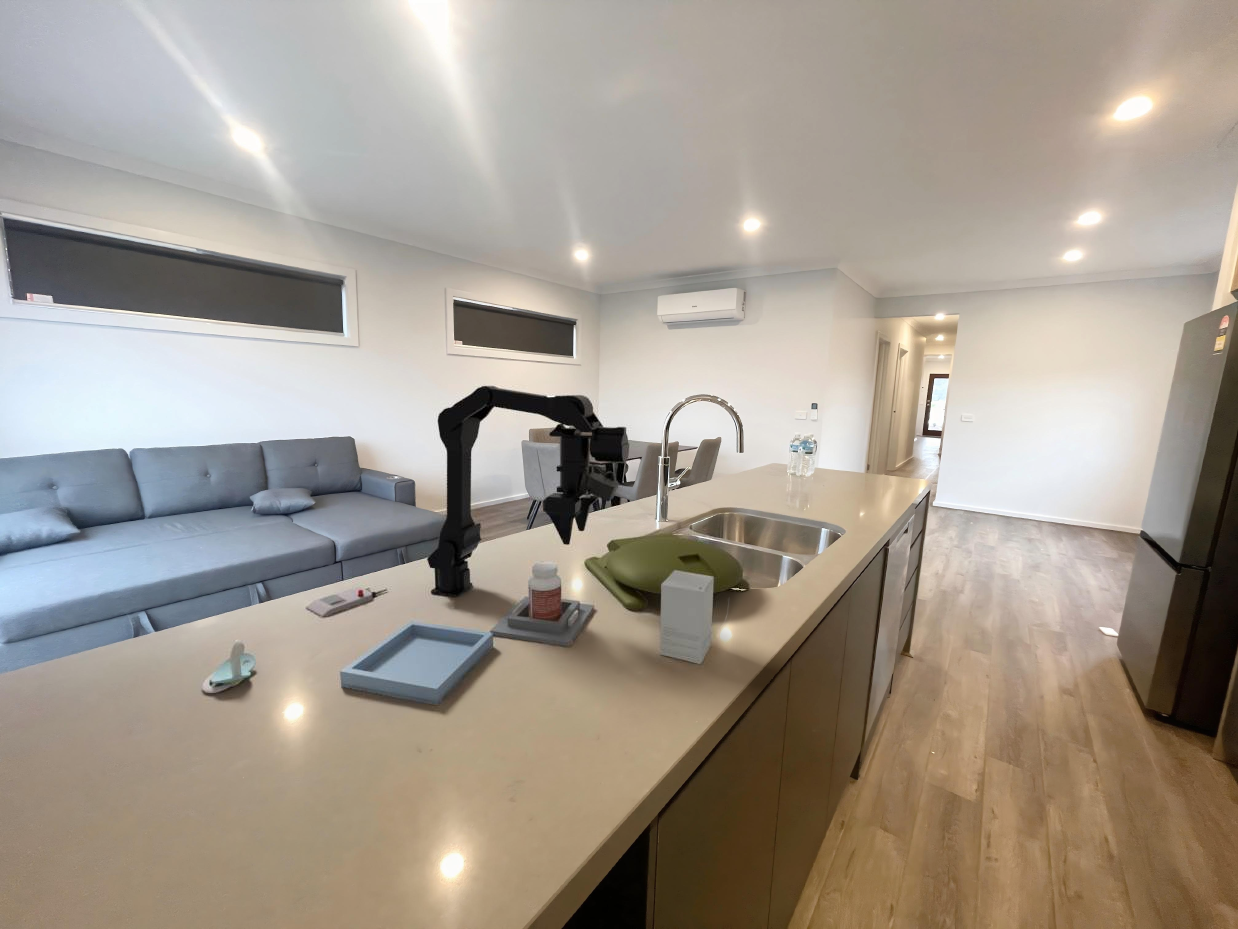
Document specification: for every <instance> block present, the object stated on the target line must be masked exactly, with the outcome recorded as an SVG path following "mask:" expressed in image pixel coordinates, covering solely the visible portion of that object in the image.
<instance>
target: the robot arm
mask: <svg viewBox="0 0 1238 929" xmlns="http://www.w3.org/2000/svg"><path fill="white" fill-rule="evenodd" d="M494 408H500V409H505V410H511V411H517V412H523V413H527V414H534V415H540V416H543V417H545V418H547V419H548V420H551V421H553V422H555V423H558V424H557V425H556V426H555V428H554V429H553V430H551V432H549V437H557V438H558V437H559V465H556V472H557V473H558V472H559V485H558V486H557V487H556V492H553V493H551V494H550V495H548V496H546V498H545V499H543V500H542V511H543V513H545V514H546V515H548V517H549V519H550V520H551V522H552V524H553V525H554V526H553V527H554V528H555V530H556V531H557V534H558V535H559V537H560V538H559V539H560V540H561V542H562V544H563V545H567V546H569V545H570V543H571V538H572V531H573V526H574V525H573V524H574V520H575V524H576V527H577V529H578V531H579V532H584V531H585V528H586V526H587V521H588V518H589V513H590V510H591V507H592V505H593V504H594V503H595V502H596V501H597V500H598V499H599V498H600V500H601V501H605V502H610V501H611V500H612V499H614V497H615V494H616V492H617V489H618V488H619V485H620V483H619V481H618V480H617V474H616V473H615V472H613V471H610V470H609V471H607V472H606V473H605V474H604V475H603V473H597V472H595V471H594V470H595V468H594V466H593V464H592V463H590V456H591V458H594V460H595V462H602V463H615V464H616V463H620V464H626V463H627V462H628V458H629V453H630V443H629V439H628V438H629V437H628V434H627V427H626V426H616V427H612V426H611V427H609V426H608V427H607V426H604V425H603V424H602V423H601V421H600V419H599V418H598V417H597V415H596V414H595V411H594V407H593V402H591V400H590V398H589V397H587V396H585V395H583V394H574V395H573V394H572V395H543V394H537V393H532V392H531V393H530V392H525V391H519V390H512V389H506V388H499V387H496V386H494V385H481V386H479V387H477V388H476V389H475V390H474V391H472V392H471V394H468V395H467V396H465V397H463V398H462V399H461V400H459V401H457V402H455V403H454V404H453V405H452V406H450V407H446V408H444V409H443V410H442V411H440V412H439V414H438V416H437V426H438V432H439V438H440V441H441V442H442V444H443V445H444V447H445V450H446V519H445V521H444V523H443V525H442V527H441V530H440V531H439V537H438V544H437V548H436V549H435V550H434V551H432V553H431V554H430V555H429V556H428V557H427V559H426V560H427V563H428V566H429V568H430V569H434V586H435V587H434V588H432V589H431V590H430V593H431V594H436V595H444V596H450V597H459V596H460V595H461V594H463V593H465V591H466V590H468V589H469V588H471V587H472V586H473V582H471V569H470V568H469V561H468V560H467V559H470V558H471V557H472V554H473V552H474V551H475V550H476V549H477V548H478V546H479V542H481V541H482V538H481V528H482V524H481V523H480V522H475V521H474V518H473V517H472V506H471V505H472V503H471V502H472V452H473V451H472V450H473V447H474V445H475V443H476V441H477V438H478V436H479V432H480V425H481V422H482V421H484V419H486V418H487V417H488V416H489V415H490V413H491V412H492V410H493V409H494ZM566 426H567V427H566Z"/></svg>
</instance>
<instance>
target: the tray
mask: <svg viewBox="0 0 1238 929" xmlns="http://www.w3.org/2000/svg"><path fill="white" fill-rule="evenodd" d="M493 648H494V635H493V633H490V631H489V632H488V631H480V630H474V629H468V628H461V627H455V626H447V625H440V624H434V623H429V622H428V623H427V622H419V621H413V620H411V621H409V622H407V623H406V624H405V625H403V626H402V627H401V628H398V630H396V631H395V632H393V633H392V634H391V635H389V636H388V637H387V638H385V639H384V640H382V641H381V642H379V643H377V645H375V646H374V647H372V648H371V649H369V650H367V651H366V652H365V653H364V654H362V655H361V656H359V657H358V658H357V659H355V660H354V661H352V662H351V663H349V664H348V665H347V666H345V667H344V668H343V669H341V670H340V671H339V674H340V675H339V677H340V687H341V688H344V687H345V689H350V688H352V689H351V690H355V689H357V690H356V691H360V690H364V691H363V692H365V691H367V693H371V694H376V693H378V694H377V695H381V694H382V695H383V696H386V695H387V697H392V698H398V699H403V700H408V701H413V702H418V703H423V704H429V705H433V706H434V705H435V706H439V705H440V703H441V702H442V701H443V700H444V699H445V698H446V697H447V696H448V695H449V693H451V692H452V691H453V689H455V688H456V686H457V685H458V684H460V683H461V681H462V680H464V678H465V677H466V676H467V675H468V674H469V673H470V672H471V671H472V670H473V669H474V668H475V667H476V666H477V665H478V663H480V661H481V660H482V659H483V658H484V657H485V656H486V655H487V654H488V653H489V652H490V651H491V650H492V649H493ZM382 695H381V696H382Z"/></svg>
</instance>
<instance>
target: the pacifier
mask: <svg viewBox="0 0 1238 929" xmlns="http://www.w3.org/2000/svg"><path fill="white" fill-rule="evenodd" d="M245 663H248V664H245ZM255 665H256V658H255V656H254V655H253V654H251V653H247V652H245V644H244V642H243V641H242V640H240V639H235V641H234V643H233V645H232V647H231V651H230V655H229V658H228V659H227V660H225V661H224V662H223V663H221V664H220V666H219V667H218V668H217V669H216V670H215V672H213V673H212V674H211V675H209V676H208V677H207V678H206V679H205V680H204V681H203V683H202V686H201V688H202V691H203V692H204V693H206V694H215V693H216V694H217V693H219V692H222V691H223V692H224V691H225V690H227V689H229V688H230V687H231V686H232V685H235V684H237V683H239V682H241V681H242V680H243V679H244V678H245V679H247V678H248V677H251V675H252V672H251V671H252V670H253V669H254V668H255ZM245 679H244V680H245ZM244 680H243V681H244ZM211 681H212V682H211ZM243 681H242V682H243ZM242 682H241V683H242ZM210 683H211V684H222V685H219V686H211V684H210ZM239 684H240V683H239ZM235 686H236V685H235ZM232 687H233V686H232ZM232 687H231V688H232Z"/></svg>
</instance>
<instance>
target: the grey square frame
mask: <svg viewBox="0 0 1238 929" xmlns="http://www.w3.org/2000/svg"><path fill="white" fill-rule="evenodd" d="M561 607H562V617H561V618H560V619H559V620H558V622H556V621H549V620H542V619H535V618H529V596H524V597H523V598H522V599H521V600H519V602H518V603H516V605H515V606H514V607H512V609H511V610H510V611H508V612H507V614H505V615H504V617H503V618H501V620H499V621H498V622H497V623H496V624H495V625H494V626H493V627H492V628H491V629H490V631H489V633H493V637H494V636H496V637H500V638H501V637H502V638H509V639H514V640H515V639H517V640H522V641H523V640H524V641H530V642H535V643H541V644H550V645H556V646H563V647H568V648H569V647H570V646H571V645H572V643H573V642H574V640H575V639H576V637H577V636H578V634H579V632H581V630H582V628H583V626H584V625H585V624H586V622H587V621H588V619H589V618H590V616H592V615H591V614H592V613H593V611H594V610H595V605H594V604H589V603H582V602H581V601H580V600H575V599H574V600H573V599H565V598H561Z"/></svg>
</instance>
